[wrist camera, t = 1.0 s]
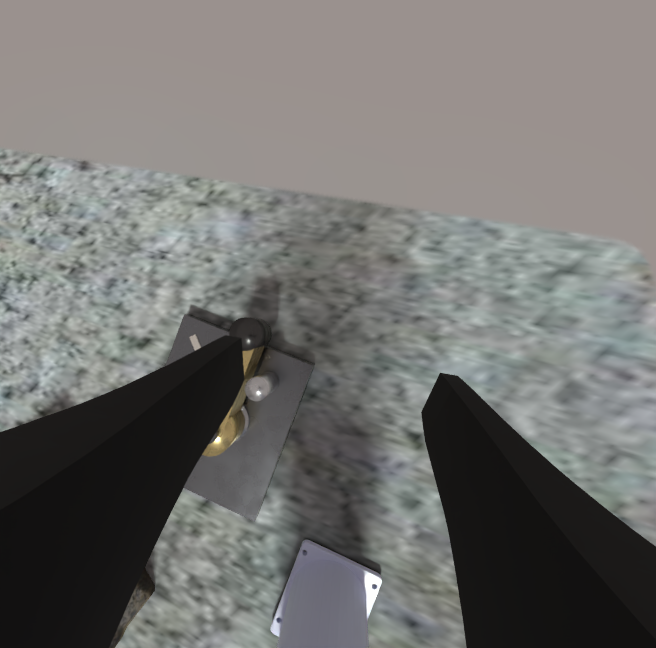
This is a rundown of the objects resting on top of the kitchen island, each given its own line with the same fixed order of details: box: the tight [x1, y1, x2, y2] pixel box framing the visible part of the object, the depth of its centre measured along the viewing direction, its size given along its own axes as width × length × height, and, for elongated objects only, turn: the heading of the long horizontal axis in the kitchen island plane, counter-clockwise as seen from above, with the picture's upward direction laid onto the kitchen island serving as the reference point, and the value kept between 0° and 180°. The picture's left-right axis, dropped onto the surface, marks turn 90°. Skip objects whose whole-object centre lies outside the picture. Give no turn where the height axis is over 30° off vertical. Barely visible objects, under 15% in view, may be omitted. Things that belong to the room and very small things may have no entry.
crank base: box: [166, 315, 315, 522], centre depth 23 cm, size 16×14×4 cm
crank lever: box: [202, 318, 272, 457], centre depth 21 cm, size 12×4×3 cm, turn 159°
